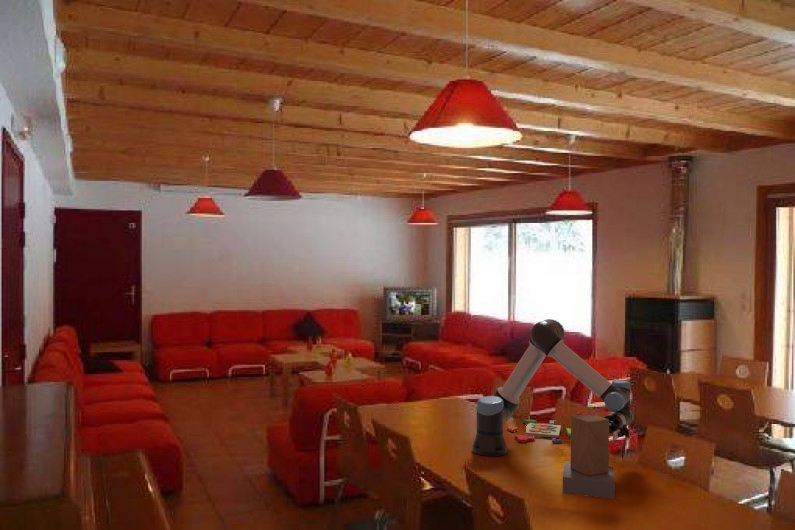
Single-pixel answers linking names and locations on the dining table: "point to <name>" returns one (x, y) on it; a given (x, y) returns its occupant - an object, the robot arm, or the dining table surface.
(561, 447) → the dining table surface
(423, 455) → the dining table surface
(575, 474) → the plinth
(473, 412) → the dining table surface
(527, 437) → the pattern blocks set
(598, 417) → the wooden block
